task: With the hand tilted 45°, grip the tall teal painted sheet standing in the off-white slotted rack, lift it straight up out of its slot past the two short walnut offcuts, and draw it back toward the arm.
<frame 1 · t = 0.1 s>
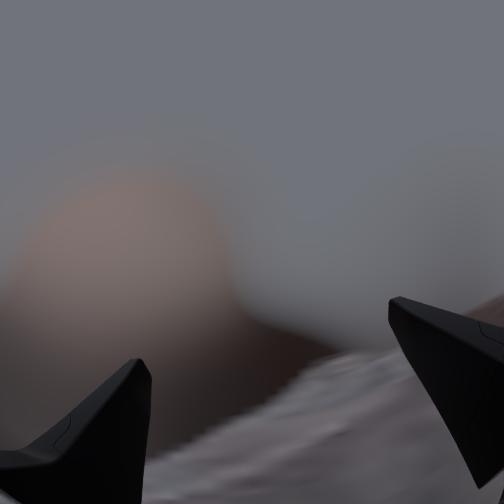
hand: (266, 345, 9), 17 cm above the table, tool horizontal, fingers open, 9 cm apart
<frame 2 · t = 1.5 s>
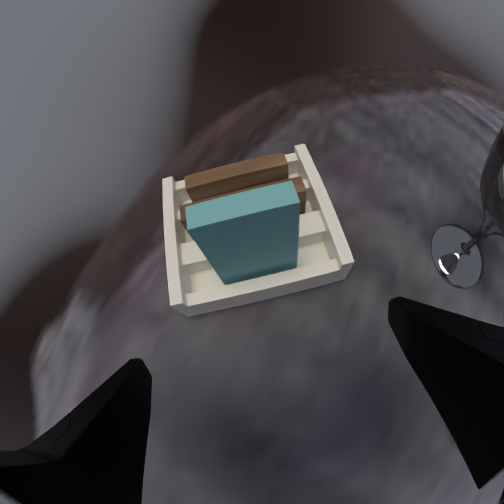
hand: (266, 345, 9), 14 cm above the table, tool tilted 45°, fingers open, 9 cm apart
walnut offcut 1: (249, 226, 26), point 1 cm above the table, touching offcut rack
wine glass: (457, 255, 23), on the table
offcut rack: (260, 275, 25), on the table
walnut offcut 2: (242, 195, 27), point 1 cm above the table, touching offcut rack
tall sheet: (259, 271, 24), point 1 cm above the table, touching offcut rack
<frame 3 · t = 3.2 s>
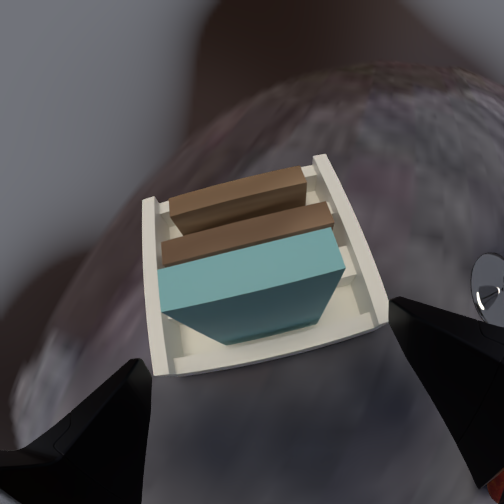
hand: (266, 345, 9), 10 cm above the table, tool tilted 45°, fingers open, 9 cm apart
walnut offcut 1: (254, 262, 20), point 1 cm above the table, touching offcut rack
wine glass: (497, 290, 17), on the table
offcut rack: (269, 327, 19), on the table
walnut offcut 2: (244, 221, 21), point 1 cm above the table, touching offcut rack
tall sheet: (268, 324, 18), point 1 cm above the table, touching offcut rack
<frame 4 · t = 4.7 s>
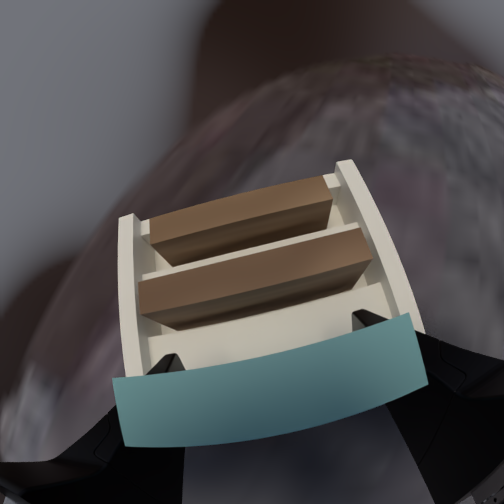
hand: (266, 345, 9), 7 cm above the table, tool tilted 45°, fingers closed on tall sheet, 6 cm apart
walnut offcut 1: (261, 299, 15), point 1 cm above the table, touching offcut rack
offcut rack: (280, 379, 14), on the table
walnut offcut 2: (248, 244, 17), point 1 cm above the table, touching offcut rack
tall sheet: (279, 379, 13), point 1 cm above the table, touching gripper, offcut rack
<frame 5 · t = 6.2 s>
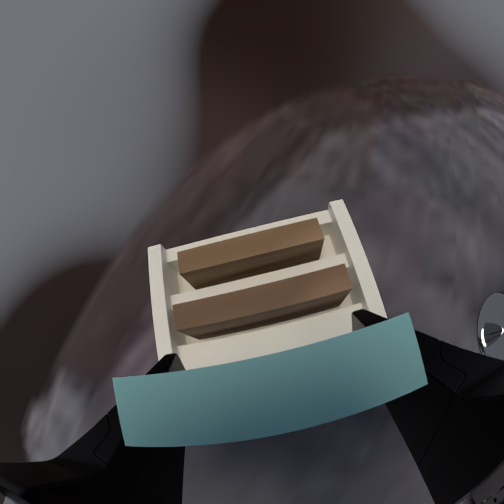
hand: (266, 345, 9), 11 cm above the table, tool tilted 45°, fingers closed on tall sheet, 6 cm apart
walnut offcut 1: (266, 314, 19), point 1 cm above the table, touching offcut rack
wine glass: (501, 330, 16), on the table
offcut rack: (281, 377, 18), on the table
walnut offcut 2: (256, 268, 21), point 1 cm above the table, touching offcut rack
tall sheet: (279, 379, 13), point 5 cm above the table, touching gripper
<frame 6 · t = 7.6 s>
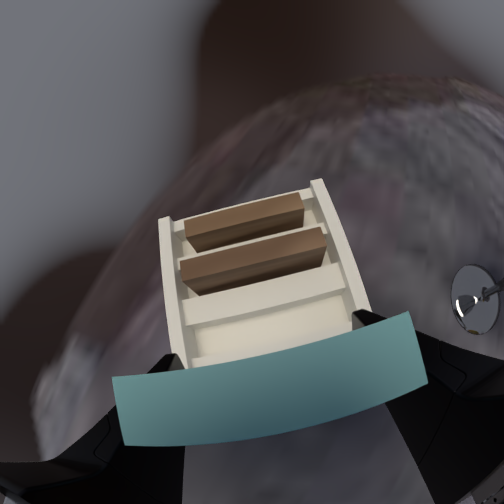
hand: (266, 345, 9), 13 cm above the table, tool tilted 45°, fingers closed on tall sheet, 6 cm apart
walnut offcut 1: (258, 275, 23), point 1 cm above the table, touching offcut rack
wine glass: (476, 299, 20), on the table
offcut rack: (271, 330, 22), on the table
walnut offcut 2: (249, 237, 24), point 1 cm above the table, touching offcut rack
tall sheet: (279, 379, 13), point 8 cm above the table, touching gripper
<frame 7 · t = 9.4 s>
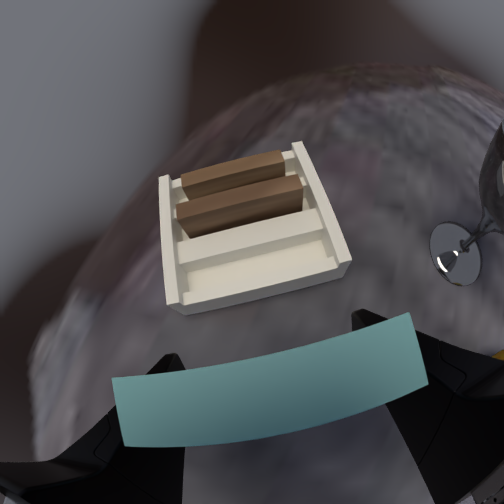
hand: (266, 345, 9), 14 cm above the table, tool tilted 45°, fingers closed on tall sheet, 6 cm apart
walnut offcut 1: (246, 224, 25), point 1 cm above the table, touching offcut rack
wine glass: (456, 253, 23), on the table
offcut rack: (257, 273, 24), on the table
walnut offcut 2: (238, 193, 27), point 1 cm above the table, touching offcut rack
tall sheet: (279, 379, 13), point 8 cm above the table, touching gripper
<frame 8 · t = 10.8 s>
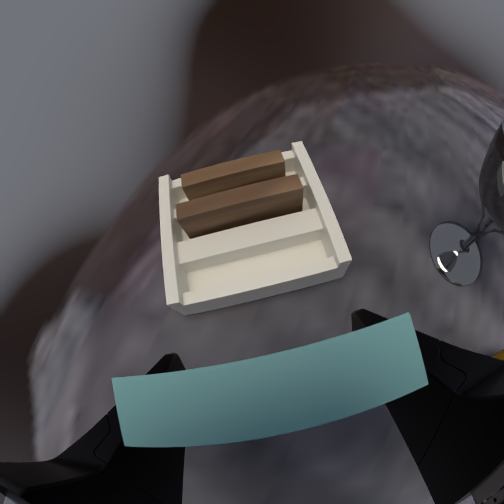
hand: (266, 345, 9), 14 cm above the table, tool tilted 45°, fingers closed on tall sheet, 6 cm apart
walnut offcut 1: (245, 224, 25), point 1 cm above the table, touching offcut rack
wine glass: (456, 253, 23), on the table
offcut rack: (257, 273, 24), on the table
walnut offcut 2: (238, 193, 27), point 1 cm above the table, touching offcut rack
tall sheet: (279, 379, 13), point 8 cm above the table, touching gripper
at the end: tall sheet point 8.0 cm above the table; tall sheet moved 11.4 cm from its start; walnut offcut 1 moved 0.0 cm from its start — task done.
